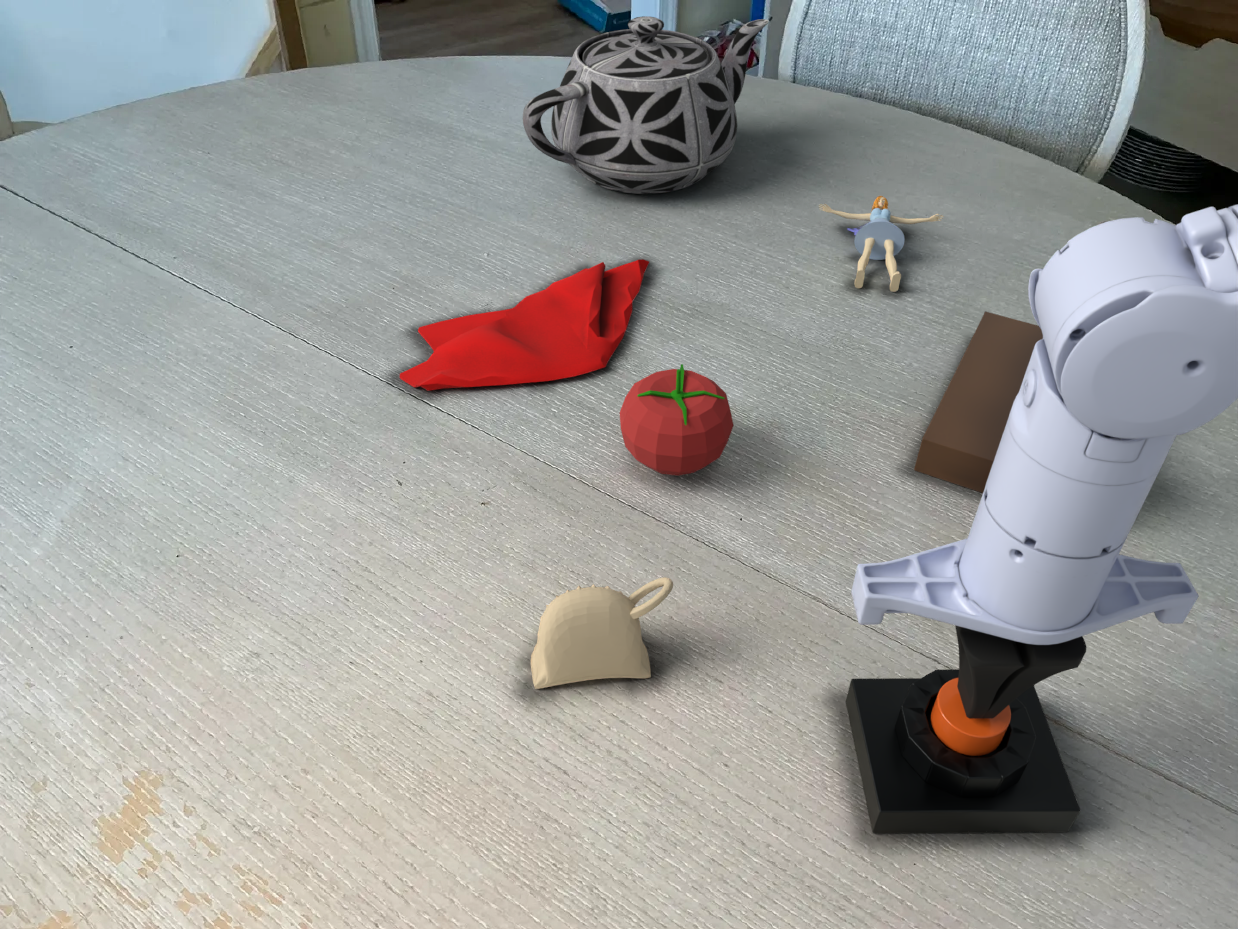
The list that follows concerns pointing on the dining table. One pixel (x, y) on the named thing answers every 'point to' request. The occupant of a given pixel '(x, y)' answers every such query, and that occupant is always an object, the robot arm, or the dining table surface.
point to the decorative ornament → (594, 635)
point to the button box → (954, 765)
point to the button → (966, 724)
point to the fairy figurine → (879, 238)
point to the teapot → (644, 107)
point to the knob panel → (978, 403)
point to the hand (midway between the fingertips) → (975, 701)
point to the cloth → (534, 334)
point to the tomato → (676, 421)
